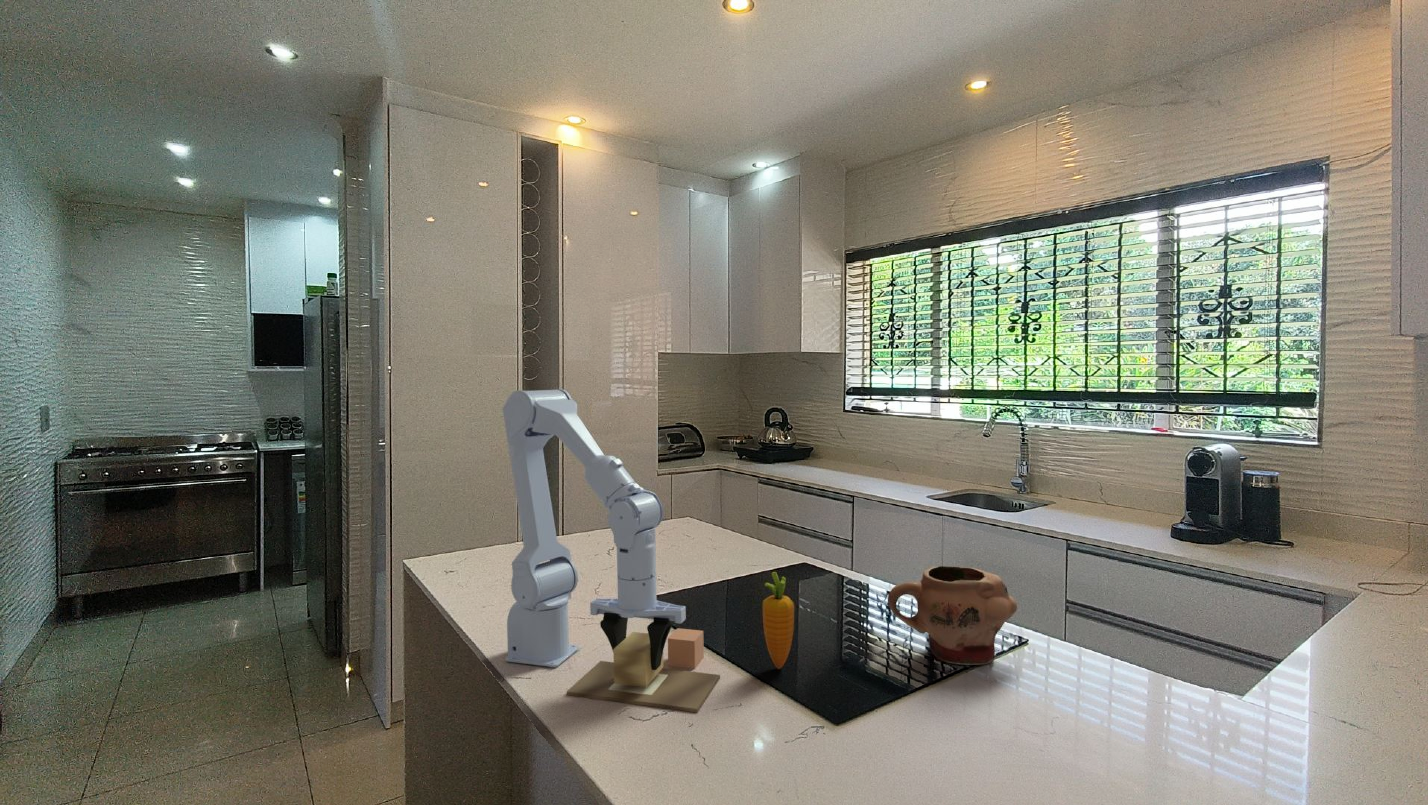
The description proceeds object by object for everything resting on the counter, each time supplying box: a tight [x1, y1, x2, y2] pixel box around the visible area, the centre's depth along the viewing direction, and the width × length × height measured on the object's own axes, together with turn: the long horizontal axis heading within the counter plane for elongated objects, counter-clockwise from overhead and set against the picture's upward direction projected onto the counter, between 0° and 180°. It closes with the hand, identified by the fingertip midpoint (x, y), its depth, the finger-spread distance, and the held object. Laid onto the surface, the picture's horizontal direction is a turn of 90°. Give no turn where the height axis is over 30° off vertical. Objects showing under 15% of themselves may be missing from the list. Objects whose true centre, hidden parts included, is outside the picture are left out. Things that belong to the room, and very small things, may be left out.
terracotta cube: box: [667, 627, 705, 670], centre depth 110 cm, size 4×4×4 cm
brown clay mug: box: [887, 565, 1018, 666], centre depth 111 cm, size 20×12×14 cm, turn 89°
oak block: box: [612, 631, 664, 687], centre depth 102 cm, size 5×7×5 cm
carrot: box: [762, 571, 795, 670], centre depth 107 cm, size 5×5×15 cm
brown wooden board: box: [566, 660, 721, 714], centre depth 102 cm, size 20×11×1 cm, turn 73°
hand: (638, 665), depth 102 cm, fingers closed on oak block, 5 cm apart
